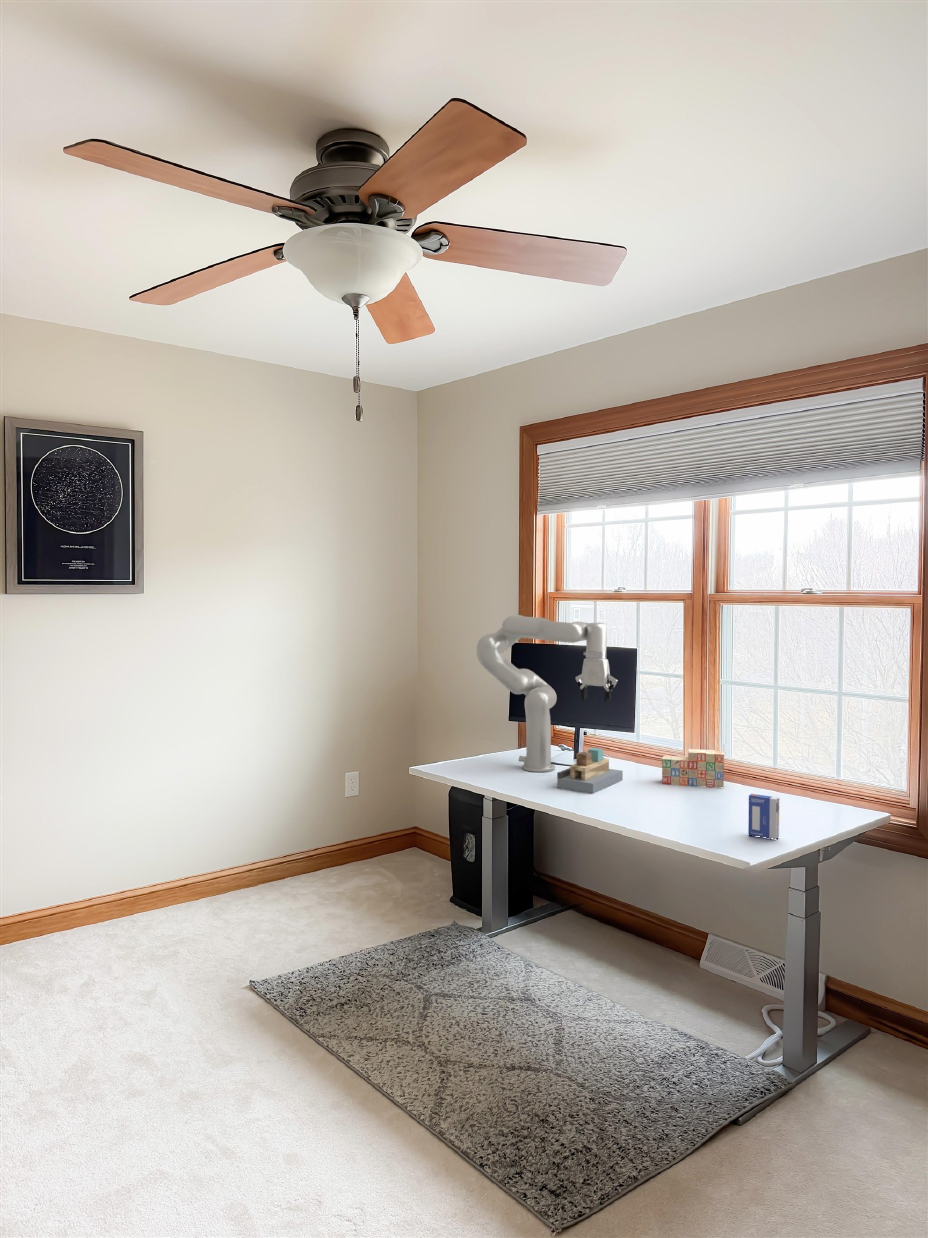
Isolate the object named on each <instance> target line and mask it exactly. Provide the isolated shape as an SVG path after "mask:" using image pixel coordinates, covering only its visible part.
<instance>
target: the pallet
mask: <svg viewBox="0 0 928 1238" xmlns="http://www.w3.org/2000/svg"><path fill="white" fill-rule="evenodd" d="M569 768H570V779H575V778H578V777H580V776H581V780H584V781H586V780H588V779H590V778H593V777H595V776H597V775H600V774H602V773H604V772H607V771H609V769H610V758H608V757H607V758H606V757H603V760H601V761H599V762H596V761H592V764H591V765H589V766H580V765H576V763H574V764H572V765H570V766H569Z"/></svg>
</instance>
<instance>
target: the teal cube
mask: <svg viewBox="0 0 928 1238" xmlns="http://www.w3.org/2000/svg"><path fill="white" fill-rule="evenodd" d="M587 753H592V761H596V762H599V761H601V760H603V758H604V749H603V748H597V747H591V748H587Z"/></svg>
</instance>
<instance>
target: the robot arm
mask: <svg viewBox="0 0 928 1238" xmlns="http://www.w3.org/2000/svg"><path fill="white" fill-rule="evenodd" d="M607 636H608V635H607V624H606V623H603V622H584V621H574V622H566V621H565V622H564V621H554V620H549V619H547V618H544V617H537V616H536V617H535V616H524V615H521V614H516V615H515V614H513V615H509V616H507V617H505V618H504V620H503V621H502V623H501V628H499V629H498V630H497V631H495V632H493V633H487V634H485V635H482V636H481V637H480V639H479V640H478V641H477V645H476V657H477V659H478V661H479V664H480V665H481V666H482V667H483V668H484V669H485V670H486V671H487V672H488V673H489V674H491V675H492V676H493V677H494V678H495V679H496V680H497V681H498V682H499V683H501V685H503V686H504V687H505V688H506V690H507V689H508V690H509V692H511V693H512V694H514V695H522V694H523V695H524V696H525V698H524V710H525V712H524V713H525V726H526V727H525V730H526V731H525V734H526V736H525V737H526V739H525V741H526V743H525V744H526V745H525V746H526V747H525V748H526V749H525V751H526V754H525V755H526V756H524V755H519V756H518V762H521V763H522V762H523V764H522V770H525V771H527V772H534V773H544V772H551V771H554V770H555V768H556V766H555V765H554V764H552V759H551V758H552V755H551V754H552V751H551V750H552V741H551V739H552V733H551V732H552V731H551V728H552V727H551V724H552V723H551V713H550V709H552V708H553V707H554V706H555V705H556V703H557V694H556V691H555V689H554V688H552V686H551V685H550V684H548V683H547V682H546V681H545V680H544V679H543V678H541V677H540V676H539V675H538V674H536V673H535V672H534V671H532V670H530V669H528V668H518V667H516V666H515V665H514V664H513V663H512V662H511V661H509V660H508V659H506V658H505V657H503V656H502V655H501V654H502V653H504V652H505V651H508V649H510V648H511V647H513V645H514V644H515V643H517V642H518V641H519V640H521V639H531V640H541V641H550V642H560V643H572V644H573V643H578V642H583V641H586V646H585V648H586V650H585V651H583V656H585V658H584V659H583V664H582V669H581V673H580V674H579V675H577V676H575V681H576V682H577V683H576V684H577V685H578V687H579V689H580V691H581V693H580V694H581V700H583V701H584V700H587V699H588V698H589V697H588V694H589V693H588V688H587V687H588V686H594V687H603V688H604V690H605V691H604V702H605V703H608V702H611V699H612V691H613V690H614V688H615V687H616V685H617V683H618V681H619V680H618V679H616V678H615V677H614V676H612V675H611V673H610V664H609V663H610V662H609V659H607V643H608V642H607ZM610 682H611V683H610Z"/></svg>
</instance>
